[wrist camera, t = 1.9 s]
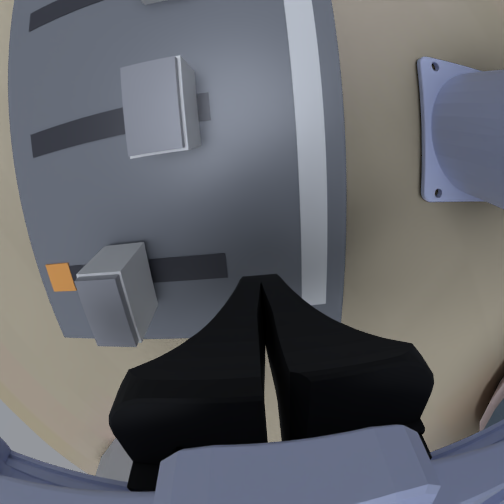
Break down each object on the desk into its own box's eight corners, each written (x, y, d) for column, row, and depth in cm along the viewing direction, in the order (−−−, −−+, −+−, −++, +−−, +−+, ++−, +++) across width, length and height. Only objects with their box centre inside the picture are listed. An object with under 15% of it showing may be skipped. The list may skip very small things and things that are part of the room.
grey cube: (115, 437, 23) (100, 488, 17) (172, 461, 24) (164, 511, 19) (101, 456, 25) (87, 499, 19) (151, 477, 26) (143, 520, 21)
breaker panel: (305, -69, 9) (326, -123, 4) (331, 305, 17) (359, 368, 12) (35, -12, 9) (-16, -35, 4) (77, 319, 18) (40, 373, 13)
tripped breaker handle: (143, 242, 13) (116, 276, 10) (158, 304, 14) (139, 348, 11) (105, 245, 13) (71, 279, 10) (121, 305, 14) (96, 347, 11)
